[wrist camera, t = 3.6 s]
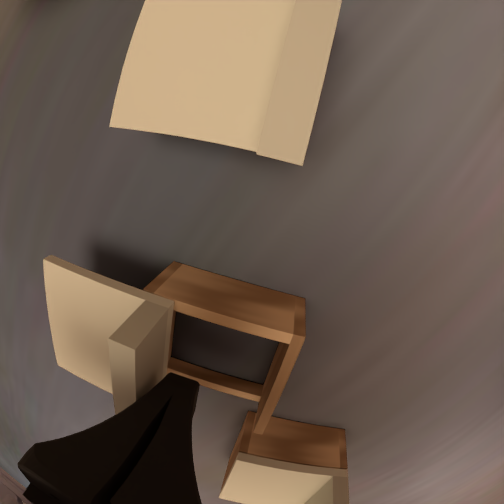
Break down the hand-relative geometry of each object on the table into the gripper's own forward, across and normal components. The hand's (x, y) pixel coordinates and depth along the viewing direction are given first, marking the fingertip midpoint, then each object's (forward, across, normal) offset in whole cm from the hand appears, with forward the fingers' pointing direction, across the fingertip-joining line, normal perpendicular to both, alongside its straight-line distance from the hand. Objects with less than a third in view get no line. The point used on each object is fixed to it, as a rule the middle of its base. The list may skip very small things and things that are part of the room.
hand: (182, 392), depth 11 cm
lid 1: (+1, +5, 0) cm, 5 cm away
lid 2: (+1, +1, -13) cm, 13 cm away
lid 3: (+1, -7, +9) cm, 11 cm away
